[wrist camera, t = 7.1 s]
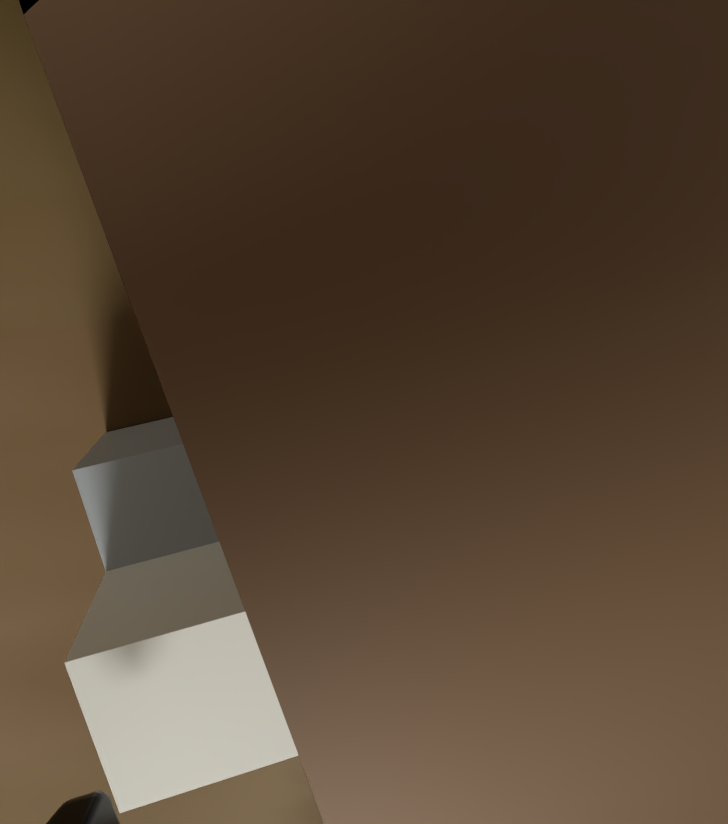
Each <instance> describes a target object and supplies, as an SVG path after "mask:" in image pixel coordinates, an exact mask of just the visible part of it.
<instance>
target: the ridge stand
mask: <svg viewBox="0 0 728 824" xmlns="http://www.w3.org/2000/svg"><path fill="white" fill-rule="evenodd" d="M72 471H73V474H74V477H75V480H76V483H77V486H78V489H79V492H80V495H81V498H82V501H83V504H84V507H85V510H86V513H87V516H88V519H89V522H90V525H91V528H92V531H93V534H94V537H95V540H96V543H97V546H98V549H99V552H100V555H101V558H102V561H103V564H104V567H105V570H106V573H105V575H104V577H103V579H102V581H101V584H100V586H99V588H98V590H97V592H96V594H95V597H94V599H93V601H92V603H91V605H90V608H89V610H88V612H87V614H86V616H85V619H84V621H83V623H82V625H81V627H80V630H79V632H78V634H77V636H76V638H75V641H74V643H73V645H72V647H71V649H70V652H69V654H68V656H67V658H66V660H65V666H66V668H67V671H68V674H69V676H70V679H71V682H72V685H73V687H74V690H75V693H76V695H77V698H78V701H79V704H80V706H81V709H82V712H83V715H84V717H85V720H86V723H87V725H88V728H89V731H90V734H91V736H92V739H93V742H94V744H95V747H96V750H97V753H98V755H99V758H100V761H101V763H102V766H103V769H104V772H105V774H106V777H107V780H108V782H109V785H110V788H111V791H112V793H113V796H114V799H115V802H116V804H117V807H118V810H119V812H120V813H122V812H125V811H128V810H131V809H134V808H137V807H141V806H144V805H147V804H150V803H153V802H156V801H159V800H162V799H165V798H168V797H171V796H175V795H178V794H181V793H184V792H187V791H190V790H193V789H196V788H199V787H202V786H206V785H209V784H212V783H215V782H218V781H221V780H224V779H227V778H230V777H233V776H237V775H240V774H243V773H246V772H249V771H252V770H255V769H258V768H261V767H264V766H267V765H271V764H274V763H277V762H280V761H283V760H286V759H289V758H292V757H295V756H298V752H297V750H296V747H295V744H294V742H293V739H292V736H291V733H290V731H289V728H288V725H287V723H286V720H285V717H284V715H283V712H282V709H281V707H280V704H279V701H278V698H277V696H276V693H275V690H274V688H273V685H272V682H271V680H270V677H269V674H268V672H267V669H266V666H265V663H264V661H263V658H262V655H261V653H260V650H259V647H258V645H257V642H256V639H255V636H254V634H253V631H252V628H251V626H250V623H249V620H248V618H247V615H246V612H245V610H244V607H243V604H242V601H241V599H240V596H239V593H238V591H237V588H236V585H235V583H234V580H233V577H232V575H231V572H230V569H229V566H228V564H227V561H226V558H225V556H224V553H223V550H222V548H221V545H220V542H219V539H218V537H217V534H216V531H215V529H214V526H213V523H212V521H211V518H210V515H209V513H208V510H207V507H206V504H205V502H204V499H203V496H202V494H201V491H200V488H199V486H198V483H197V480H196V477H195V475H194V472H193V469H192V467H191V464H190V461H189V459H188V456H187V453H186V451H185V448H184V445H183V442H182V440H181V437H180V434H179V432H178V429H177V426H176V424H175V421H174V418H173V417H170V418H166V419H162V420H157V421H153V422H149V423H144V424H140V425H136V426H131V427H127V428H123V429H118V430H114V431H110V432H105V434H104V435H103V436H102V437H101V438H100V439H99V440H98V442H97V443H96V444H95V445H94V446H93V447H92V448H91V450H90V451H89V452H88V453H87V454H86V455H85V456H84V458H83V459H82V460H81V461H80V462H79V463H78V464H77V466H76V467H75V468H74V469H73V470H72Z"/></svg>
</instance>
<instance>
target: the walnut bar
mask: <svg viewBox="0 0 728 824" xmlns="http://www.w3.org/2000/svg"><path fill="white" fill-rule="evenodd" d="M19 1H20V5H21V8H22V11H23V14H24V17H25V19H26V22H27V25H28V27H29V30H30V33H31V36H32V38H33V41H34V44H35V46H36V49H37V52H38V54H39V57H40V60H41V63H42V65H43V68H44V71H45V73H46V76H47V79H48V81H49V84H50V87H51V89H52V92H53V95H54V98H55V100H56V103H57V106H58V108H59V111H60V114H61V116H62V119H63V122H64V124H65V127H66V130H67V133H68V135H69V138H70V141H71V143H72V146H73V149H74V151H75V154H76V157H77V160H78V162H79V165H80V168H81V170H82V173H83V176H84V178H85V181H86V184H87V186H88V189H89V192H90V195H91V197H92V200H93V203H94V205H95V208H96V211H97V213H98V216H99V219H100V221H101V224H102V227H103V230H104V232H105V235H106V238H107V240H108V243H109V246H110V248H111V251H112V254H113V257H114V259H115V262H116V265H117V267H118V270H119V273H120V275H121V278H122V281H123V283H124V286H125V289H126V292H127V294H128V297H129V300H130V302H131V305H132V308H133V310H134V313H135V316H136V319H137V321H138V324H139V327H140V329H141V332H142V335H143V337H144V340H145V343H146V345H147V348H148V351H149V354H150V356H151V359H152V362H153V364H154V367H155V370H156V372H157V375H158V378H159V380H160V383H161V386H162V389H163V391H164V394H165V397H166V399H167V402H168V405H169V407H170V410H171V413H172V416H173V418H174V421H175V424H176V426H177V429H178V432H179V434H180V437H181V440H182V442H183V445H184V448H185V451H186V453H187V456H188V459H189V461H190V464H191V467H192V469H193V472H194V475H195V477H196V480H197V483H198V486H199V488H200V491H201V494H202V496H203V499H204V502H205V504H206V507H207V510H208V513H209V515H210V518H211V521H212V523H213V526H214V529H215V531H216V534H217V537H218V539H219V542H220V545H221V548H222V550H223V553H224V556H225V558H226V561H227V564H228V566H229V569H230V572H231V575H232V577H233V580H234V583H235V585H236V588H237V591H238V593H239V596H240V599H241V601H242V604H243V607H244V610H245V612H246V615H247V618H248V620H249V623H250V626H251V628H252V631H253V634H254V636H255V639H256V642H257V645H258V647H259V650H260V653H261V655H262V658H263V661H264V663H265V666H266V669H267V672H268V674H269V677H270V680H271V682H272V685H273V688H274V690H275V693H276V696H277V698H278V701H279V704H280V707H281V709H282V712H283V715H284V717H285V720H286V723H287V725H288V728H289V731H290V733H291V736H292V739H293V742H294V744H295V747H296V750H297V752H298V755H299V758H300V760H301V763H302V766H303V769H304V771H305V774H306V777H307V779H308V782H309V785H310V787H311V790H312V793H313V795H314V798H315V801H316V804H317V806H318V809H319V812H320V814H321V817H322V820H323V822H324V824H728V0H19Z"/></svg>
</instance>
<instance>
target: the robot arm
mask: <svg viewBox="0 0 728 824" xmlns="http://www.w3.org/2000/svg"><path fill="white" fill-rule="evenodd" d="M46 824H120V823H119V820H118V818H117V815H116V812H115V809H114V807H113V804H112V801H111V799H110V797H109V796H108V794H107V793H106V792H104V791H96V792H92V793H89V794H86V795H83V796H80V797H76V798H73V799H71V800H68V801H66V802H65V803H64V804H63V805H62V806H61V807H60V808H59V809H58V810H57V811H56V812H55V814H54V815H53V816H52V817H51V818H50V820H49V821H48V822H47V823H46Z"/></svg>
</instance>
